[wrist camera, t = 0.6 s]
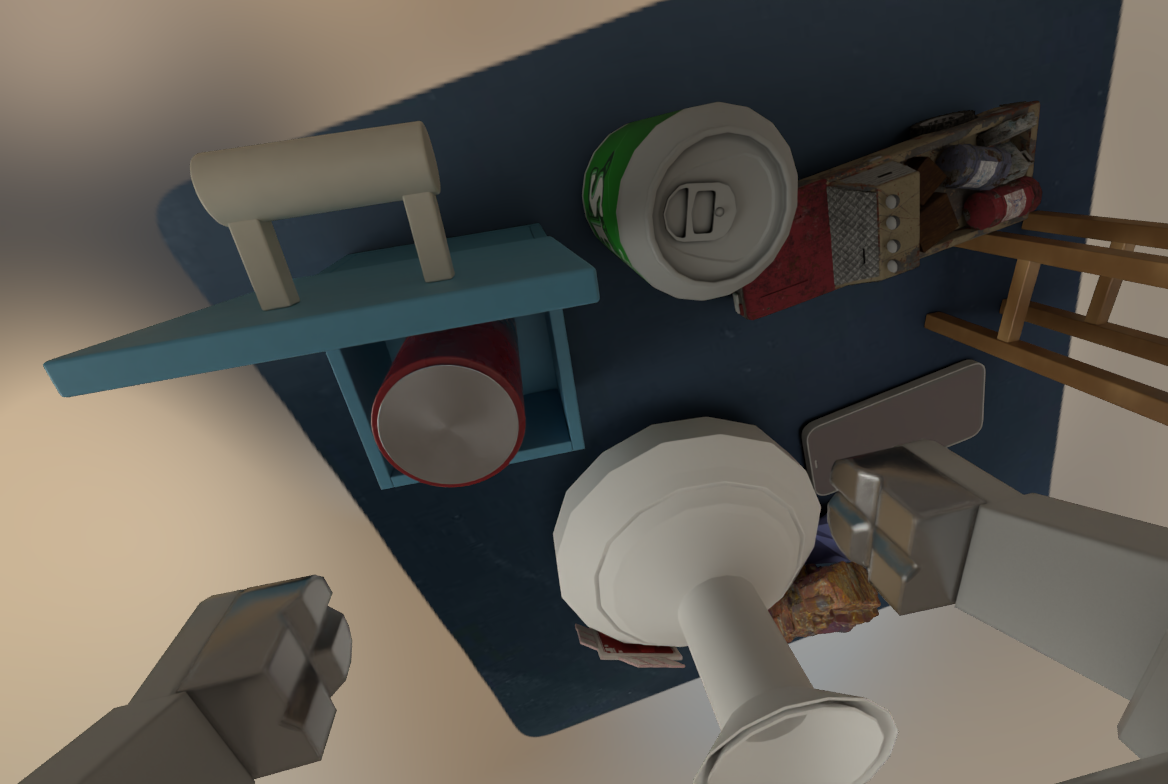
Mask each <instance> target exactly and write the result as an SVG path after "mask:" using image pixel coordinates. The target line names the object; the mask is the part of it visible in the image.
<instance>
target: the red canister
mask: <svg viewBox="0 0 1168 784" xmlns="http://www.w3.org/2000/svg"><path fill="white" fill-rule="evenodd" d="M371 427H372V433H373V436H374V439H375V442H376V444H377V446H378V448H379V450H380V451H381V453H382V454H383V456H384V457H385V458H386V459H387V460H388V462H389V463H390V464H391V465H392V466H394V467H395V468H396V469H397V470H399V471H400V472H401V473H403V474H404V475H406V476H408V477H410V478H412V479H414V480H416V481H419V482H422V483H425V484H429V485H433V486H439V487H461V486H468V485H472V484H476V483H479V482H481V481H484V480H486V479H488V478H490V477H492V476H494V475H496V474H497V473H498V472H500V471H501V470H502V469H504V468H505V467H506V466H507V465H508V464H509V463H510V462H511V461H512V459H513V458H514V457H515V455H516V454H517V452H518V451H519V449H520V447H521V445H522V442H523V439H524V435H525V429H526V417H525V407H524V397H523V387H522V376H521V366H520V356H519V346H518V336H517V327H516V322H515V319H514V317H513V318H508V319H502V320H496V321H491V322H485V323H480V324H474V325H469V326H463V327H457V328H452V329H446V330H441V331H435V332H430V333H424V334H418V335H413V336H407V337H406V338H405V340H404V342H403V344H402V346H401V348H400V350H399V352H398V354H397V356H396V358H395V360H394V362H393V363H392V365H391V367H390V369H389V371H388V373H387V375H386V377H385V379H384V381H383V383H382V385H381V387H380V389H379V391H378V393H377V395H376V396H375V399H374V402H373V405H372V411H371Z"/></svg>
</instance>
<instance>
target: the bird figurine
mask: <svg viewBox="0 0 1168 784" xmlns="http://www.w3.org/2000/svg"><path fill="white" fill-rule="evenodd" d="M841 561H844V562H846V561H850V560H849V559H848V558H847V557H846V556H845V555H844V554H843V552H842V551H841V550H840V549H839V548H838V546H837V544H836V542H835V541H834V539H833V537H832V535H831V532H830V528H829V525H828V522H827V514H825V515H824V516H823V517H821V518H820V519H819V522H818V528H817V533H816V539H815V545H814V548H813V550H812V552H811V553H810V555H809V557H808V558H807V560H806V562H805V564H820V563H833V562H841Z"/></svg>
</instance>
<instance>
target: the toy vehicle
mask: <svg viewBox="0 0 1168 784" xmlns="http://www.w3.org/2000/svg"><path fill="white" fill-rule="evenodd" d="M999 106H1001V107H998V108H993V109H990V110H988V111H985V112H982V113H980V114H977V115H975V111H973V110H971V111H970V110H968V111H959V112H953V113H949V114H945V115H940V116H937V117H932V118H930V119H926V120H924V121H920V122H919V123H916V124H914V125H912V126H911V127H910V139H909V140H907V141H904V142H901V143H899V144H896V145H893V146H891V147H888V148H885V149H883V150H880V151H877V152H875V153H872V154H869V155H867V156H864V157H861V158H859V159H856V160H853V161H851V162H848V163H845V164H842V165H840V166H837V167H834V168H831V169H829V170H826V171H823V172H820V173H818V174H815V175H812V176H809V177H807V178H804V179H801V180H799V181H798V190H797V208H796V212H795V215H794V219H793V222H792V225H791V229H790V232H789V235H788V237H787V239H786V241H785V242H784V244H783V246H782V247H781V249H780V251H779V252H778V254H777V256H776V257H775V259H774V261H773V262H772V263H771V264H770V265H769V266H768V267H767V268H766V269H765V270H764V271H763V272H762V273H761V274H760V275H759V276H758V277H757V278H756V279H755V280H754V281H752V282H751V283H749V284H747V285H745V286H744V287H742V288H740V289H738V290H736V291H735V292H733V293H732V294H733V300H734V305H735V310H736V312H737V313H739V314H741V315H742V316H743V317H744V318H746V319H750V320H755V319H758V318H761V317H764V316H766V315H769V314H772V313H775V312H778V311H780V310H783V309H786V308H788V307H791V306H794V305H797V304H799V303H802V302H804V301H807V300H810V299H812V298H815V297H818V296H820V295H823V294H825V293H828V292H831V291H833V290H836V289H839V288H841V287H844V286H847V285H855V284H860V283H865V282H866V283H868V282H869V283H871V282H876V281H877V282H879V281H882V280H884V279H887V278H890V277H893V276H895V275H898V274H901V273H903V272H906V271H909V270H912V269H914V268H916V267H918V266H919V259H920V258H923V257H925V256H928V255H931V254H934V253H936V252H939V251H942V250H944V249H947V248H950V247H953V246H955V245H958V244H961V243H963V242H966V241H969V240H972V239H974V238H977V237H980V236H982V235H985V234H988V233H991V232H993V231H996V230H999V229H1001V228H1004V227H1007V226H1010V225H1012V224H1015V223H1018V222H1020V221H1023V220H1026V219H1027V218H1028V215H1029V212H1031V211H1034V210H1035V209H1036V208H1037V206H1038V205H1039V204H1040V203H1041V197H1042V190H1041V187H1040V185H1039V183H1038V182H1037V181H1036V180H1035V179H1033V178H1032V176H1033V166H1034V157H1035V147H1036V137H1037V130H1038V120H1039V110H1040V102H1039V101H1032V102H1026V101H1024V102H1017V103H1010V104H1004V105H999Z"/></svg>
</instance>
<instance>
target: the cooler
mask: <svg viewBox="0 0 1168 784" xmlns="http://www.w3.org/2000/svg"><path fill="white" fill-rule="evenodd" d="M541 237H547V235H546V233H545V232H544V230H543V228H542V227H541V225H540V223H536V224H530V225H524V226H518V227H512V228H506V229H500V230H494V231H488V232H482V233H476V234H470V235H464V236H458V237H451V238H446V239H447V244H448V248H449V252H450V253H451V252H457V251H463V250H469V249H475V248H481V247H487V246H493V245H499V244H505V243H511V242H517V241H523V240H529V239H535V238H541ZM415 258H419V257H418V254H417V250H416V246H415V244H409V245H403V246H397V247H391V248H385V249H379V250H373V251H367V252H360V253H354V254H348V255H346V256H345V257H343V258H342V259H340V260H339V261H337V262H336V263H334V264H332V265H331V266H329V267H328V268H326V269H325V270H323V271H322V272H320V273H319V274H317V275H320V274H326V273H331V272H337V271H343V270H349V269H355V268H361V267H367V266H373V265H379V264H385V263H391V262H397V261H403V260H409V259H415ZM514 319H515V322H516V327H517V336H518V346H519V356H520V366H521V376H522V387H523V397H524V407H525V417H526V429H525V435H524V439H523V442H522V445H521V447H520V449H519V451H518V452H517V454H516V455H515V457H514V458H513V459H512V461H511V462H510V463H509V464H511V463H516V462H521V461H526V460H531V459H536V458H541V457H546V456H551V455H555V454H560V453H565V452H570V451H572V450H574V451H575V450H580V449H584V448H585V445H584V439H583V433H582V426H581V420H580V414H579V408H578V402H577V395H576V389H575V383H574V377H573V371H572V364H571V358H570V352H569V346H568V340H567V333H566V327H565V321H564V315H563V309H558V310H552V311H547V312H541V313H535V314H530V315H524V316H519V317H514ZM405 338H406V337H402V338H396V339H390V340H385V341H379V342H374V343H368V344H363V345H357V346H351V347H346V348H340V349H335V350H329V351H326V354H327V356H328V359H329V361H330V364H331V366H332V369H333V371H334V374H335V376H336V379H337V381H338V384H339V386H340V388H341V391H342V393H343V396H344V398H345V401H346V403H347V406H348V408H349V411H350V413H351V416H352V418H353V421H354V423H355V426H356V428H357V430H358V433H359V435H360V438H361V440H362V443H363V445H364V448H365V450H366V453H367V455H368V458H369V460H370V463H371V465H372V467H373V470H374V472H375V475H376V477H377V480H378V482H379V485H380V487H381V489H382V490H383V489H388V488H393V487H398V486H402V485H407V484H412V483H417V482H419V481H416V480H414V479H412V478H410V477H408V476H406V475H404V474H403V473H401V472H400V471H399V470H397V469H396V468H395V467H394V466H392V465H391V464H390V463H389V462H388V460H387V459H386V458H385V457H384V456H383V454H382V453H381V451H380V450H379V448H378V446H377V444H376V442H375V439H374V436H373V433H372V427H371V411H372V405H373V402H374V399H375V396H376V395H377V393H378V391H379V389H380V387H381V385H382V383H383V381H384V379H385V377H386V375H387V373H388V371H389V369H390V367H391V365H392V363H393V362H394V360H395V358H396V356H397V354H398V352H399V350H400V348H401V346H402V344H403V342H404V340H405Z"/></svg>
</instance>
